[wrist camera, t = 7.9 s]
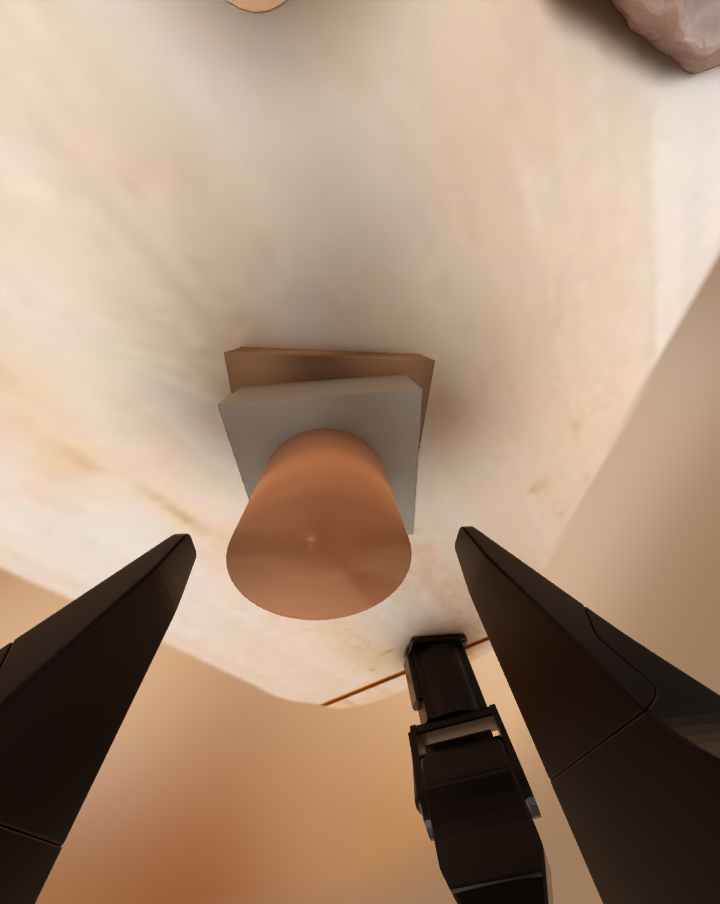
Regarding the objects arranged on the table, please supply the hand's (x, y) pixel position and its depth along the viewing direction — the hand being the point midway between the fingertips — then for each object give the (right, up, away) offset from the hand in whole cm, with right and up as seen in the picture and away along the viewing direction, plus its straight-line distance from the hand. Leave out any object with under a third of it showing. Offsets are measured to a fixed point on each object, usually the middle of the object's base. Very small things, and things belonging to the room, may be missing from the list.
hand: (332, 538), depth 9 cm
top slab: (-1, +3, +6) cm, 7 cm away
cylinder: (-1, +1, +3) cm, 4 cm away
